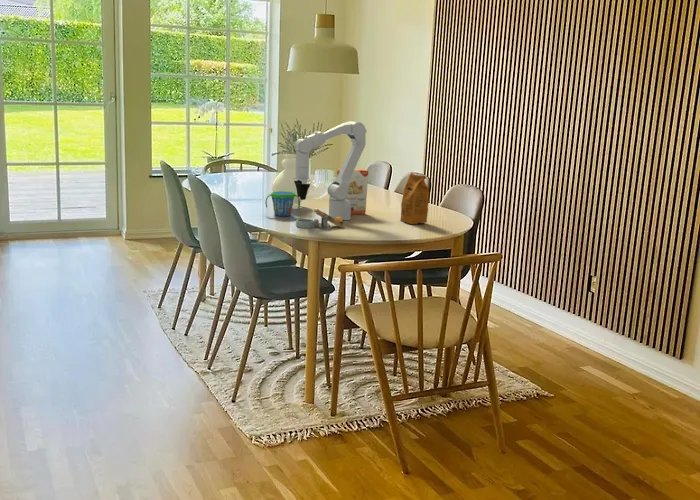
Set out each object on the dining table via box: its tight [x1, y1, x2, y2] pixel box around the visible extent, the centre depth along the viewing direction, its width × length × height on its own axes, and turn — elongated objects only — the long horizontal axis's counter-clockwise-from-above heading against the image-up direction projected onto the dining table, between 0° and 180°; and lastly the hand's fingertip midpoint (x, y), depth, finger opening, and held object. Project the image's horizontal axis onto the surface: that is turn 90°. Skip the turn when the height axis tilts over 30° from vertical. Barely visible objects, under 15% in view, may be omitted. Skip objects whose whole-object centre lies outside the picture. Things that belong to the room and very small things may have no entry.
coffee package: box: [400, 172, 430, 225], centre depth 334 cm, size 10×12×22 cm
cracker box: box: [335, 168, 369, 216], centre depth 349 cm, size 14×6×21 cm, turn 105°
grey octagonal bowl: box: [295, 218, 315, 229], centre depth 316 cm, size 7×7×2 cm
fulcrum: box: [313, 212, 332, 229], centre depth 317 cm, size 7×9×5 cm
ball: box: [335, 217, 343, 223], centre depth 318 cm, size 3×3×3 cm
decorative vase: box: [271, 153, 310, 210], centre depth 359 cm, size 18×18×25 cm
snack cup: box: [264, 191, 301, 217], centre depth 337 cm, size 16×10×10 cm
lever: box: [312, 207, 345, 229], centre depth 320 cm, size 12×12×3 cm
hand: (301, 198), depth 326 cm, fingers open, 7 cm apart
